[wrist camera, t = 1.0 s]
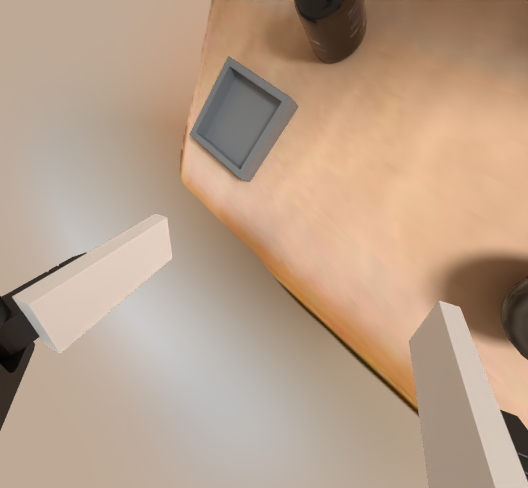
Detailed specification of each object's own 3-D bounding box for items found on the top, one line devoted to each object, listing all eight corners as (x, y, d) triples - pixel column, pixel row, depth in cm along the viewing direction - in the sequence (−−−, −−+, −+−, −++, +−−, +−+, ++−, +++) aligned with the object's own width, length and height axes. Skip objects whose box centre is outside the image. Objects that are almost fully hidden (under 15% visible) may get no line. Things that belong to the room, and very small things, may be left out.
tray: (238, 66, 40) (228, 56, 37) (298, 106, 36) (291, 98, 33) (200, 139, 44) (189, 134, 42) (249, 181, 40) (240, 179, 38)
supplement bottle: (307, 64, 35) (271, -5, 24) (322, 8, 33) (290, -92, 23) (357, 65, 32) (341, -13, 21) (375, 4, 30) (367, -112, 20)
